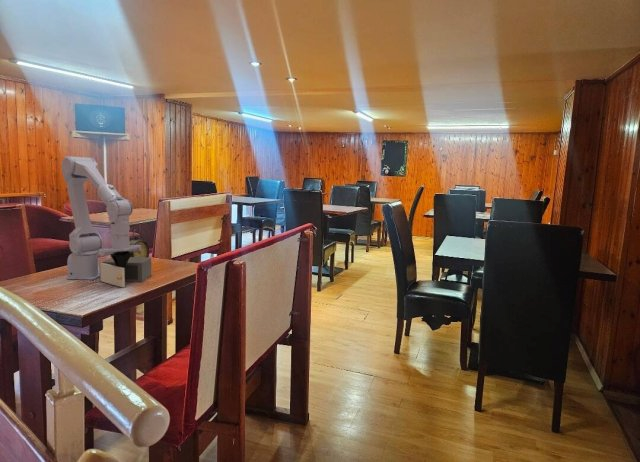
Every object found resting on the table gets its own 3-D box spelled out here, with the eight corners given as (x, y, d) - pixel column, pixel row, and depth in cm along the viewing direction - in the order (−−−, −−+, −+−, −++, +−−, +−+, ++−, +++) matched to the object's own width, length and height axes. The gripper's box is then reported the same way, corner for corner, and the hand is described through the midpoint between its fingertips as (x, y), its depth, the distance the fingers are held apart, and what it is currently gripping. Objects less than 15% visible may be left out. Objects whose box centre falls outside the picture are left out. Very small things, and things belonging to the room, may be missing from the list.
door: (96, 281, 151) (96, 263, 150) (101, 280, 152) (101, 262, 151) (119, 287, 144) (119, 268, 143) (125, 286, 145) (124, 268, 144)
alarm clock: (134, 272, 168) (133, 231, 165) (121, 270, 169) (121, 230, 166) (150, 266, 178) (149, 228, 176) (138, 265, 179) (138, 227, 177)
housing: (102, 281, 152) (101, 262, 151) (113, 274, 162) (113, 256, 161) (142, 282, 153) (141, 263, 152) (151, 275, 163) (151, 257, 162)
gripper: (105, 238, 138) (106, 278, 140) (146, 234, 150) (146, 271, 151) (94, 235, 142) (95, 275, 144) (135, 232, 154) (135, 268, 155)
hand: (121, 273), depth 148 cm, fingers closed
